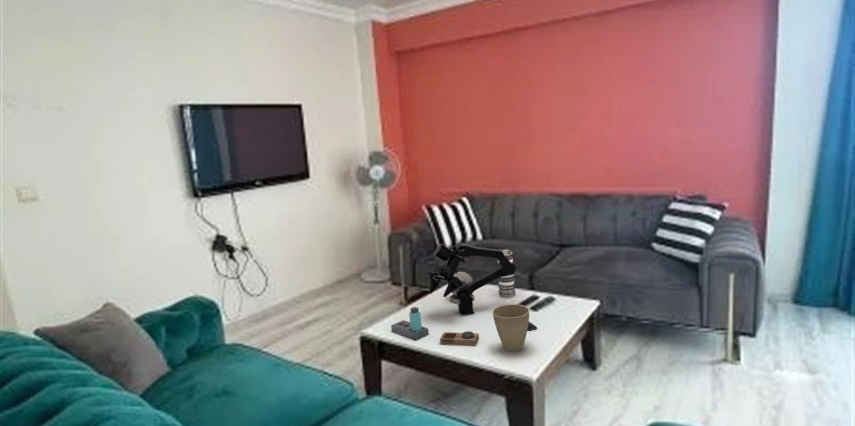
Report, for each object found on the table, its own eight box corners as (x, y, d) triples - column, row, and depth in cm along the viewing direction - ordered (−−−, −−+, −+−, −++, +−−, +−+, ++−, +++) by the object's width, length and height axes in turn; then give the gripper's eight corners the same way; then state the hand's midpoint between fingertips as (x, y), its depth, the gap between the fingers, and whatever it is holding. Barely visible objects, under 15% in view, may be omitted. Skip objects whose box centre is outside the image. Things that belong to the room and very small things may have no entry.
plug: (417, 333, 230) (414, 306, 228) (422, 335, 228) (419, 307, 226) (411, 336, 228) (408, 308, 226) (416, 337, 226) (414, 310, 223)
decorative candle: (494, 297, 268) (491, 251, 263) (506, 292, 274) (503, 247, 270) (508, 300, 261) (505, 253, 257) (519, 295, 267) (517, 249, 263)
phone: (522, 331, 221) (506, 319, 235) (522, 333, 221) (506, 322, 235) (538, 327, 223) (522, 316, 237) (538, 330, 223) (522, 318, 238)
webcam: (475, 295, 274) (474, 268, 271) (472, 303, 261) (470, 275, 259) (452, 295, 277) (450, 268, 274) (447, 303, 264) (445, 276, 262)
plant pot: (523, 337, 216) (521, 302, 213) (537, 352, 202) (535, 314, 199) (490, 343, 214) (487, 307, 211) (501, 358, 199) (498, 320, 197)
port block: (404, 326, 240) (403, 319, 240) (428, 334, 228) (428, 328, 227) (391, 331, 235) (391, 324, 235) (416, 340, 223) (415, 333, 222)
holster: (444, 337, 223) (443, 329, 223) (479, 338, 219) (478, 330, 218) (440, 344, 217) (439, 336, 216) (476, 346, 212) (475, 337, 212)
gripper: (428, 255, 246) (413, 283, 240) (456, 260, 232) (441, 290, 227) (441, 266, 252) (427, 294, 247) (469, 272, 239) (455, 301, 233)
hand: (437, 295), depth 238 cm, fingers open, 9 cm apart
